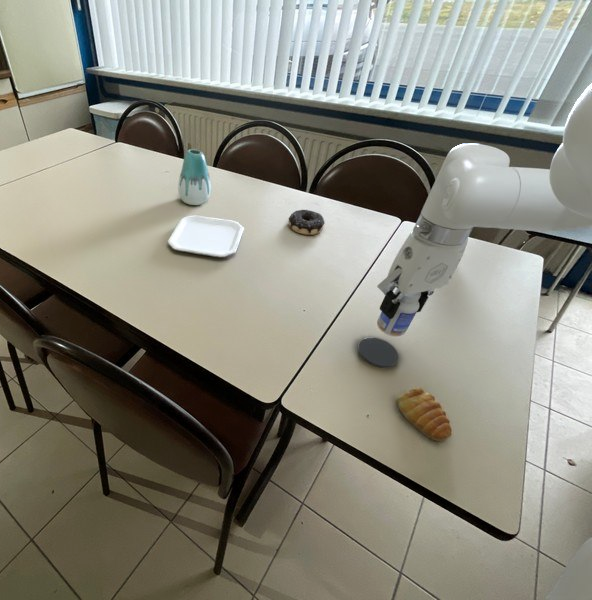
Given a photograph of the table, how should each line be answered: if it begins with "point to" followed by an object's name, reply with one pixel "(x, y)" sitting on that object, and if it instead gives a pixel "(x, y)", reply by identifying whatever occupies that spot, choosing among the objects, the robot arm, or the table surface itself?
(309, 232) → the donut
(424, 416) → the pastry
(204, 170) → the vase
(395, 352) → the coaster
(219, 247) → the plate
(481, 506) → the table surface
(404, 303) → the pill bottle
